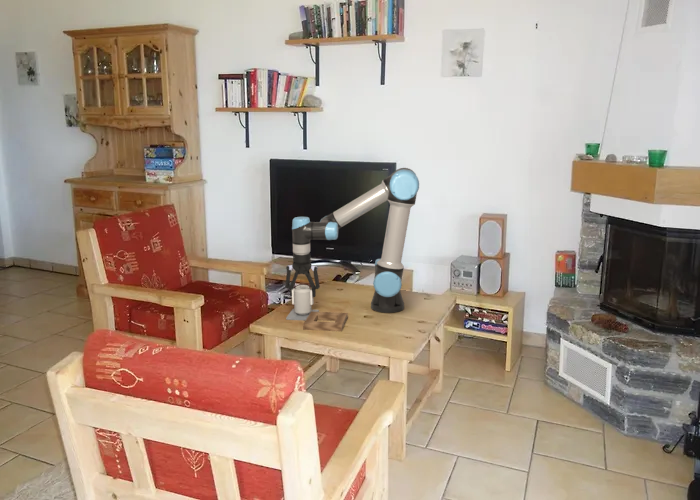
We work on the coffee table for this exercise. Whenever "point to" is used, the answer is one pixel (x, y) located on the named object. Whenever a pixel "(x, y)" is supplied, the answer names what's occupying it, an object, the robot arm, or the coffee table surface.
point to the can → (302, 300)
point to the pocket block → (325, 326)
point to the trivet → (295, 316)
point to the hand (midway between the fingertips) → (302, 303)
